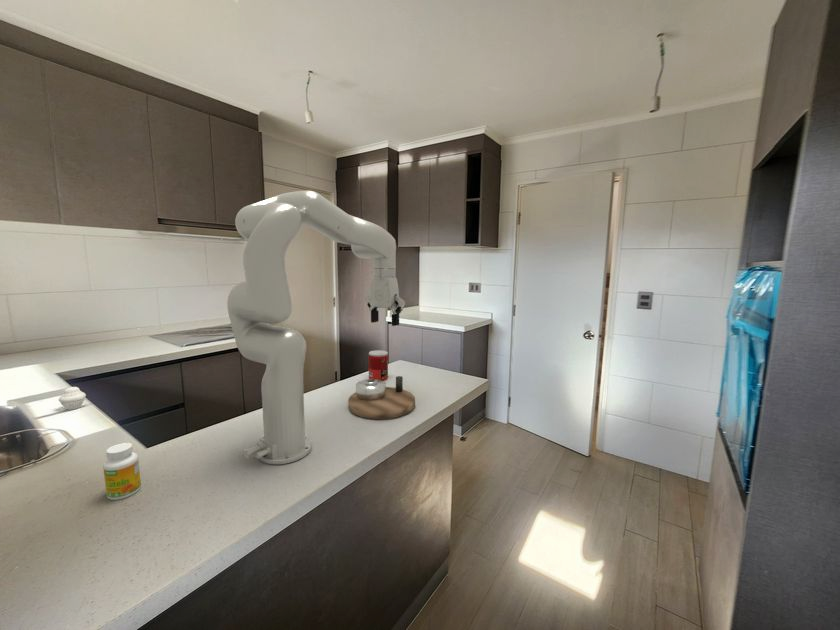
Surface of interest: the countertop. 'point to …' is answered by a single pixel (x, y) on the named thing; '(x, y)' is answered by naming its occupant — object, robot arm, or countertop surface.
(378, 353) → the canned food
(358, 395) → the cover
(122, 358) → the countertop surface
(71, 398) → the muffin
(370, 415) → the turntable
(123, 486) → the supplement bottle
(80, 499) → the countertop surface
